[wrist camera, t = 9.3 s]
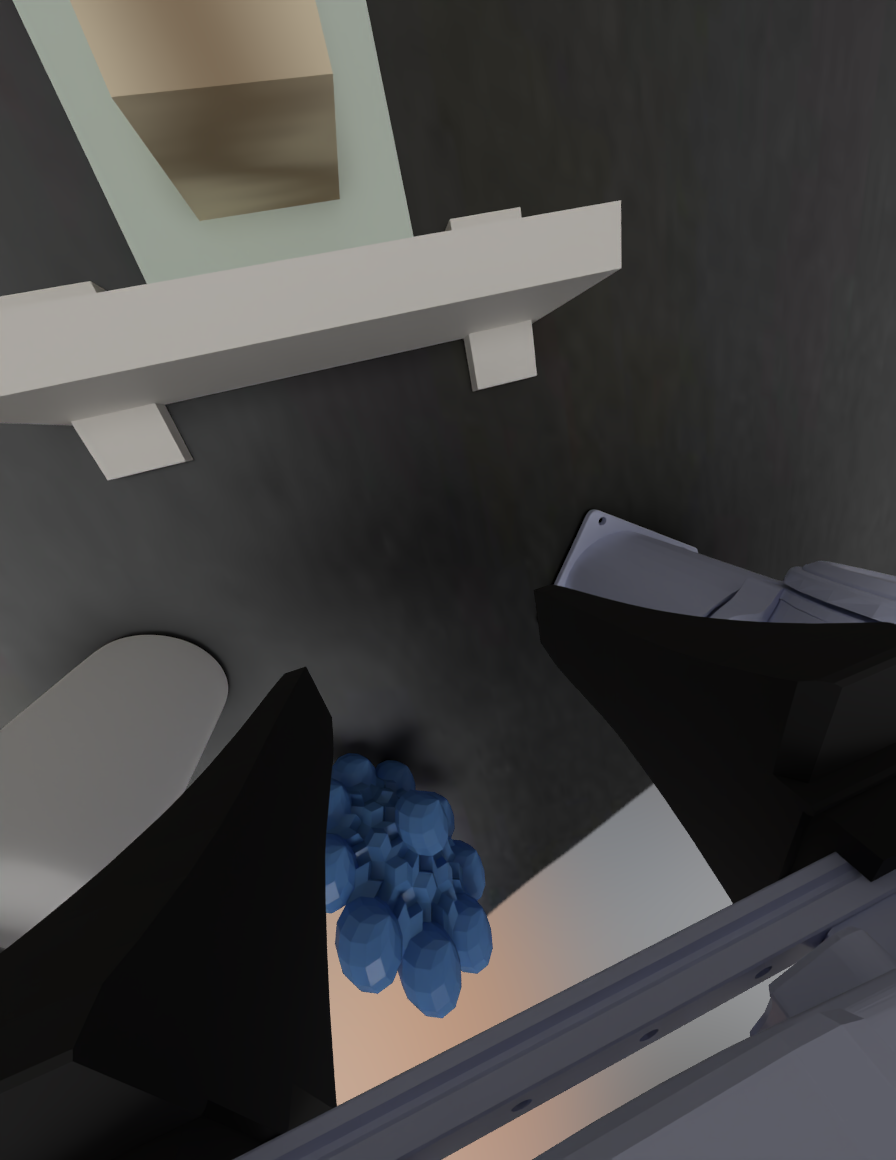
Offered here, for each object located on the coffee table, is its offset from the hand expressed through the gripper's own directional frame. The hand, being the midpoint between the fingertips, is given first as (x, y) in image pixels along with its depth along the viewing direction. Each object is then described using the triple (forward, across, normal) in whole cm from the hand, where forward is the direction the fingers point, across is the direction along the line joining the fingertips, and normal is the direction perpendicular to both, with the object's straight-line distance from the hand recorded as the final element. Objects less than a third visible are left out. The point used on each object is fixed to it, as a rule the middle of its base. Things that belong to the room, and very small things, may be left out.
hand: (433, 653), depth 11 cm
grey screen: (+9, +1, -10) cm, 14 cm away
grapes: (+10, +4, +14) cm, 17 cm away
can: (+10, +14, +3) cm, 17 cm away
